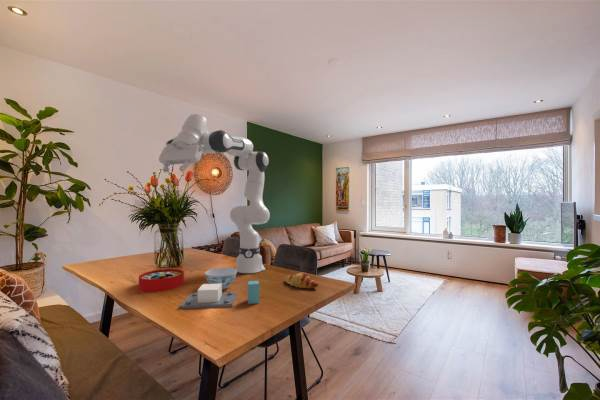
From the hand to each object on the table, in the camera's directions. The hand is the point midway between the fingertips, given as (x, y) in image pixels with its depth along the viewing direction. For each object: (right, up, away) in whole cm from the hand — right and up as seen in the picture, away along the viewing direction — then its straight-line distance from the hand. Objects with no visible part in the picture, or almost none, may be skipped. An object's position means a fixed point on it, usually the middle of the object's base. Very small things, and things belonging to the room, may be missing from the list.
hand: (173, 171), depth 110 cm
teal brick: (+33, -55, +2) cm, 64 cm away
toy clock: (-17, -55, +23) cm, 62 cm away
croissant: (+52, -55, +24) cm, 80 cm away
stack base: (+14, -54, +2) cm, 56 cm away
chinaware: (+14, -55, +20) cm, 60 cm away
